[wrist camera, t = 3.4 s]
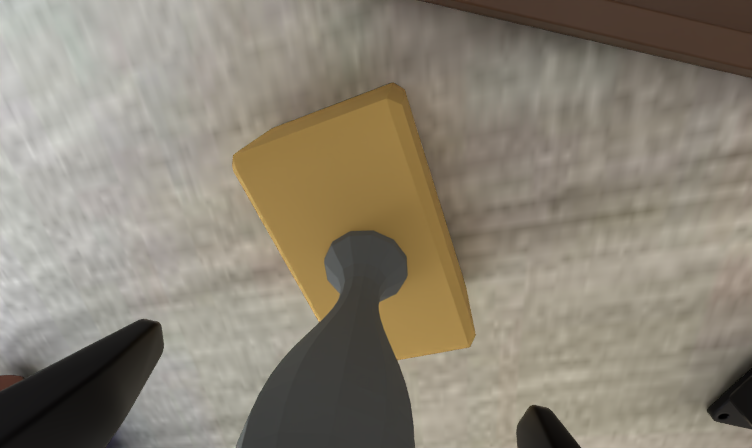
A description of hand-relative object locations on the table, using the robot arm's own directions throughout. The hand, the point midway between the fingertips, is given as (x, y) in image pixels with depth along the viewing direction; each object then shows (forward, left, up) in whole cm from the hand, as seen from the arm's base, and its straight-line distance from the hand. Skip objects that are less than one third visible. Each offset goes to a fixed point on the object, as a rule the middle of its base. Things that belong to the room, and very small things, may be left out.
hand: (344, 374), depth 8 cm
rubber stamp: (0, 0, -8) cm, 8 cm away
